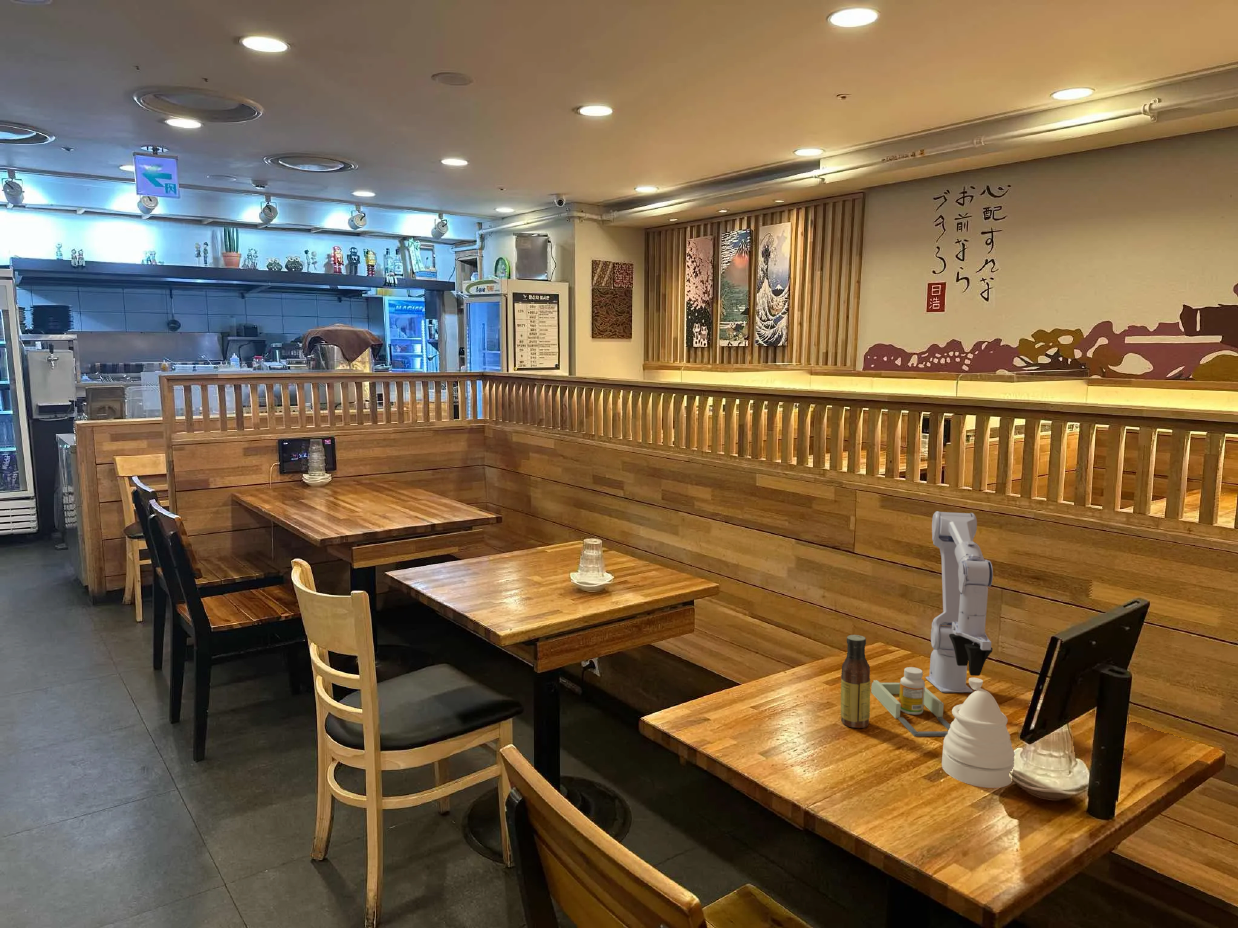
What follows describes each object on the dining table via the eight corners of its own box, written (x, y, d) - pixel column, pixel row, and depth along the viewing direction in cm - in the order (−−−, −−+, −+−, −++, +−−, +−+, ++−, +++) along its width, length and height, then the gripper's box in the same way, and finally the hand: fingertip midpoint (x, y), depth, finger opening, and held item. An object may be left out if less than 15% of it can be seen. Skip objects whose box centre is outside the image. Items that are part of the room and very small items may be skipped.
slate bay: (898, 719, 184) (898, 716, 184) (941, 719, 185) (941, 716, 185) (914, 736, 176) (914, 733, 176) (959, 735, 176) (959, 733, 176)
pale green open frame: (871, 692, 200) (872, 678, 199) (915, 692, 200) (915, 678, 200) (895, 718, 185) (896, 703, 184) (942, 718, 185) (943, 703, 185)
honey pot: (927, 761, 164) (933, 675, 162) (977, 752, 169) (983, 668, 167) (976, 792, 152) (983, 700, 150) (1028, 781, 157) (1035, 691, 155)
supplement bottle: (903, 703, 193) (906, 664, 192) (926, 709, 190) (929, 669, 189) (895, 710, 189) (897, 670, 188) (918, 717, 186) (921, 676, 185)
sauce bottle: (866, 718, 184) (871, 633, 182) (871, 730, 178) (877, 642, 176) (836, 716, 185) (841, 631, 183) (841, 728, 179) (846, 640, 176)
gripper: (940, 603, 192) (937, 658, 194) (970, 622, 178) (966, 682, 180) (970, 603, 193) (966, 658, 194) (1002, 622, 178) (997, 681, 180)
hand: (968, 670), depth 187 cm, fingers open, 5 cm apart
